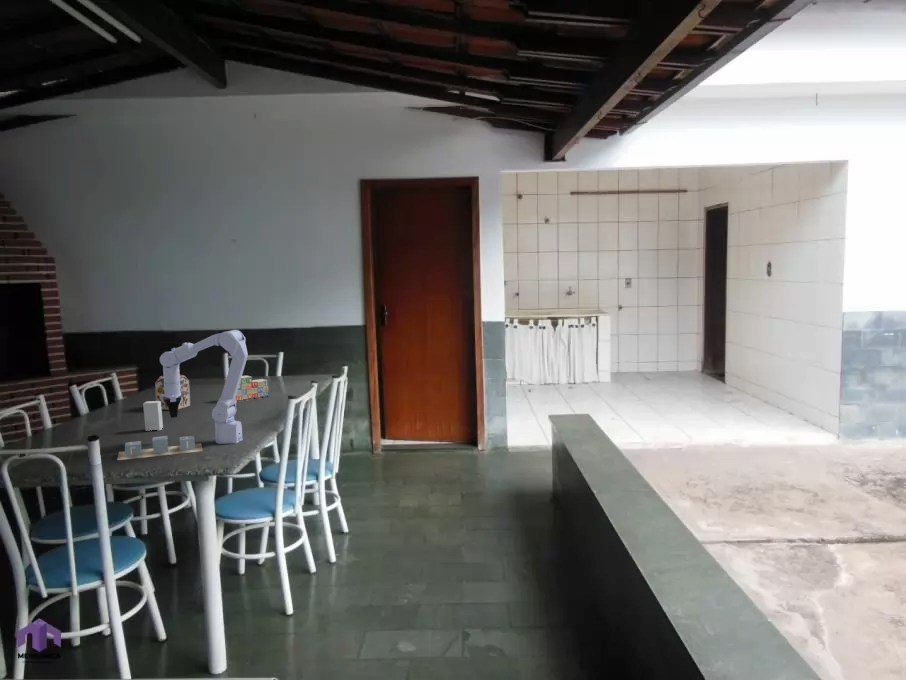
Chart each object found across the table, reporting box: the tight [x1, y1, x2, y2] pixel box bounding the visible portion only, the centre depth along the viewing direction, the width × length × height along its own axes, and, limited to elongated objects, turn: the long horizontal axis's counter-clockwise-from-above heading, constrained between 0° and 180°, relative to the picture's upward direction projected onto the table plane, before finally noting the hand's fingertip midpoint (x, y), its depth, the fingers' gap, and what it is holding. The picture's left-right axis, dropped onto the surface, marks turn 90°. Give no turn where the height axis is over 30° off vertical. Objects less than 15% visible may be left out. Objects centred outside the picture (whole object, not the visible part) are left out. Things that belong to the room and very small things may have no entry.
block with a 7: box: [124, 440, 142, 457], centre depth 235 cm, size 5×5×4 cm
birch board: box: [116, 443, 203, 461], centre depth 239 cm, size 28×12×1 cm, turn 114°
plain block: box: [152, 435, 169, 454], centre depth 239 cm, size 5×5×5 cm
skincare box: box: [142, 400, 164, 432], centre depth 276 cm, size 6×4×12 cm
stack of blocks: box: [224, 375, 270, 401], centre depth 344 cm, size 21×6×12 cm, turn 134°
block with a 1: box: [179, 435, 196, 451], centre depth 242 cm, size 5×5×4 cm
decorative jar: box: [154, 374, 191, 411], centre depth 323 cm, size 12×12×18 cm
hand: (173, 417), depth 253 cm, fingers closed
